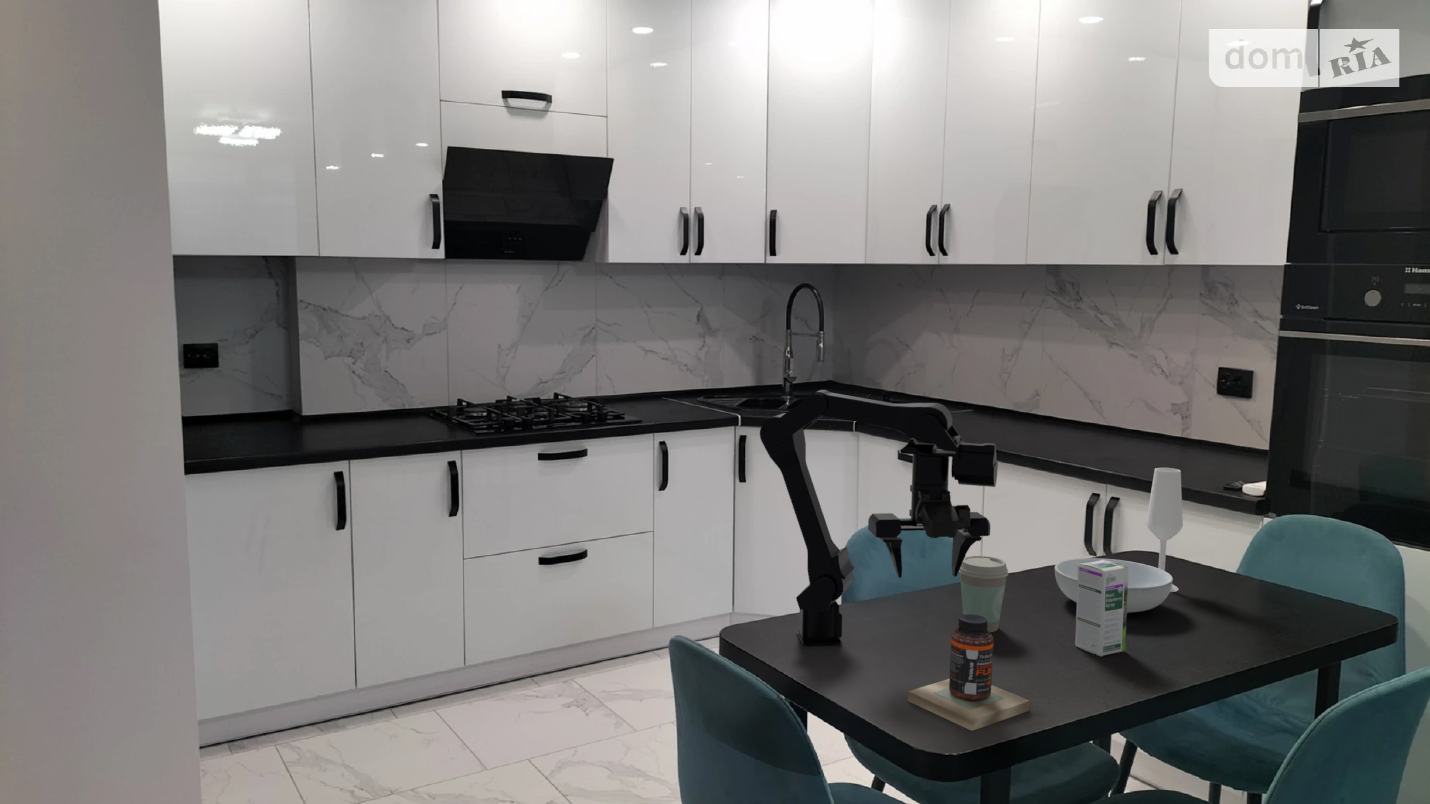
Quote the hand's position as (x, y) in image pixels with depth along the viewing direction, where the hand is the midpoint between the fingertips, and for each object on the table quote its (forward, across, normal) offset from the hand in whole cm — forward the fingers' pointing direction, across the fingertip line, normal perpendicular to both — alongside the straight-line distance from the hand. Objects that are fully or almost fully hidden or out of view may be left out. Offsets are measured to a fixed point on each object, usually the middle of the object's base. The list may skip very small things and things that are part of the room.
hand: (927, 576), depth 167 cm
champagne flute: (+13, +59, +33) cm, 69 cm away
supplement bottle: (+12, 0, -21) cm, 24 cm away
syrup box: (+13, +30, 0) cm, 33 cm away
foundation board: (+13, 0, -21) cm, 25 cm away
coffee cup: (+13, +14, +12) cm, 23 cm away
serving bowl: (+13, +43, +22) cm, 50 cm away
